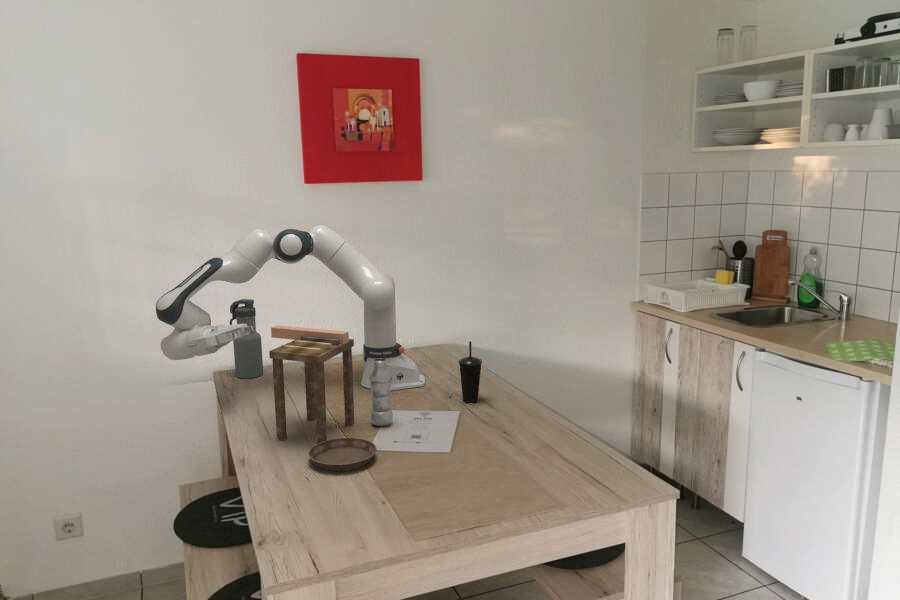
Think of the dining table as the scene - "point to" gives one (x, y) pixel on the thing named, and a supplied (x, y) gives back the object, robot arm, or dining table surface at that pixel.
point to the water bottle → (247, 341)
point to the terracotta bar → (307, 333)
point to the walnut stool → (312, 380)
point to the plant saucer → (342, 454)
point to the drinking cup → (470, 377)
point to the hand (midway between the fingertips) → (242, 332)
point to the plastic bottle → (380, 393)
